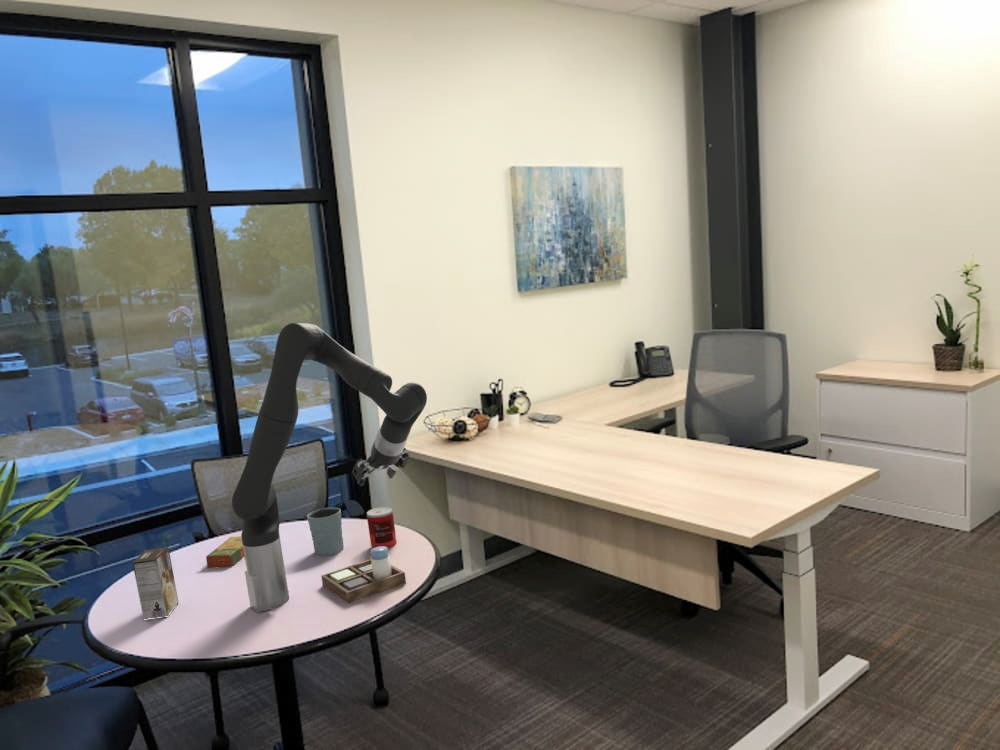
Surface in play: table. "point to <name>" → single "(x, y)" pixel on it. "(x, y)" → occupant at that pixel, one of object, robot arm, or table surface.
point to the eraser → (355, 583)
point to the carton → (226, 553)
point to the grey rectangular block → (365, 568)
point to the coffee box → (155, 583)
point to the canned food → (381, 527)
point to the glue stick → (380, 563)
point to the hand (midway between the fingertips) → (374, 479)
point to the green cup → (326, 530)
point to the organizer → (366, 590)
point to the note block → (342, 575)
